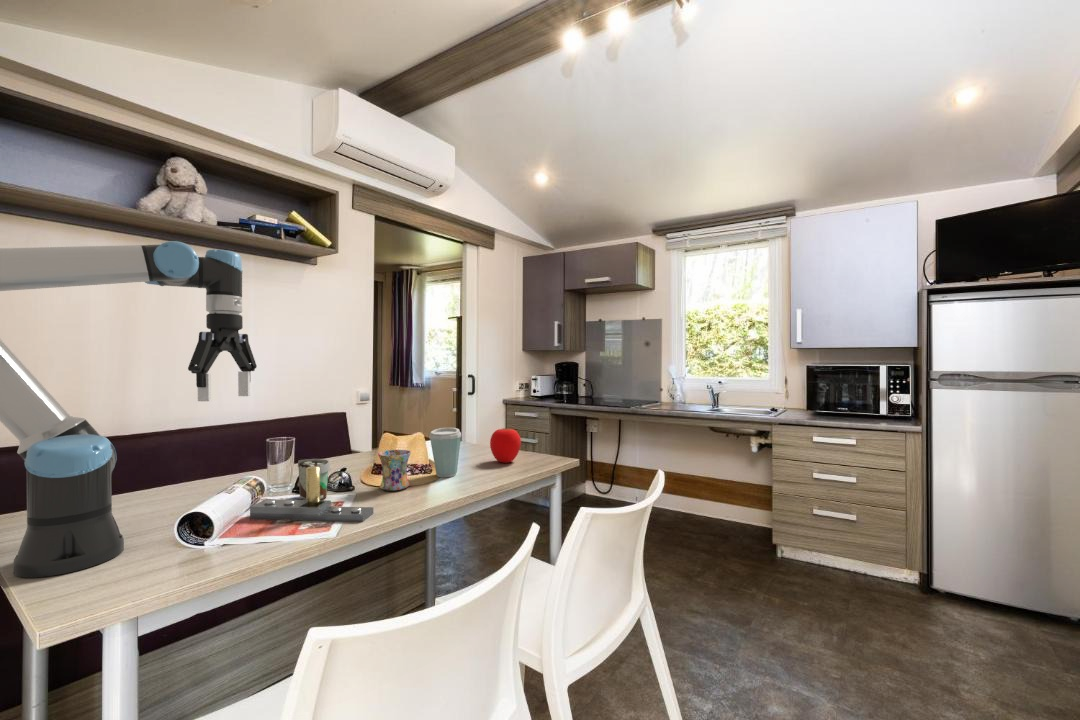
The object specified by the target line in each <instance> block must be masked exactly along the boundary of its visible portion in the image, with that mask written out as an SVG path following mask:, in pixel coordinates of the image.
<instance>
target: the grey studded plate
mask: <svg viewBox="0 0 1080 720" xmlns="http://www.w3.org/2000/svg"><path fill="white" fill-rule="evenodd" d="M373 514H374V506H373V507H371V506H369V507H368V506H366V507H365V506H332V501H331V500H326V499H325V500H320V505H319V506H317V507H307V500H306V499H274V498H273V499H270V498H269V499H268V498H266V499H265V498H264V499H263V500H261V501H259V502H257V503H255V504H253V505H251V506H249V519H250V520H268V521H270V520H271V521H273V520H274V521H305V522H306V521H316V522H350V523H351V522H355V523H357V522H359V523H363V522H365V521H366V520H367V519H369V518H370V516H372V515H373Z"/></svg>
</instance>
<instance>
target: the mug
mask: <svg viewBox="0 0 1080 720" xmlns="http://www.w3.org/2000/svg"><path fill="white" fill-rule="evenodd" d="M377 454H378V457H379V460H380V463H381V467H382V479H381V482H380V484H379V488H380V489H381V490H383V491H391V492H392V491H402V490H405V489H406V488H408V487H409V486H410V481H409V479H408V474H407V466H408V462H409V458H410V456H411V454H412V452H411V450H408V449H389V450H384V451H380V452H378V453H377Z"/></svg>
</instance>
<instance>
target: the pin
mask: <svg viewBox="0 0 1080 720" xmlns="http://www.w3.org/2000/svg"><path fill="white" fill-rule="evenodd" d="M306 499H307V507H317V506H319V505H320V467H319V466H311V467H307V468H306ZM306 499H305V500H306Z"/></svg>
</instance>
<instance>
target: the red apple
mask: <svg viewBox="0 0 1080 720" xmlns="http://www.w3.org/2000/svg"><path fill="white" fill-rule="evenodd" d="M489 440H490V441H489V448H490V451H491V453H492V456H493V458H494V459H496V461H498V462H499V463H503V464H509V463H511V462H513V461H514V460H515V459H516V457H517V456H518V454H519V452H520V449H521V445H522V444H521V443H522V439H521V436H520V434H519V433H518V431H517V430H516V429H514V428H509V427H507V426H505V428H499V429H496V430H494V432H493V433H492V434H491V436H490V439H489Z"/></svg>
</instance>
